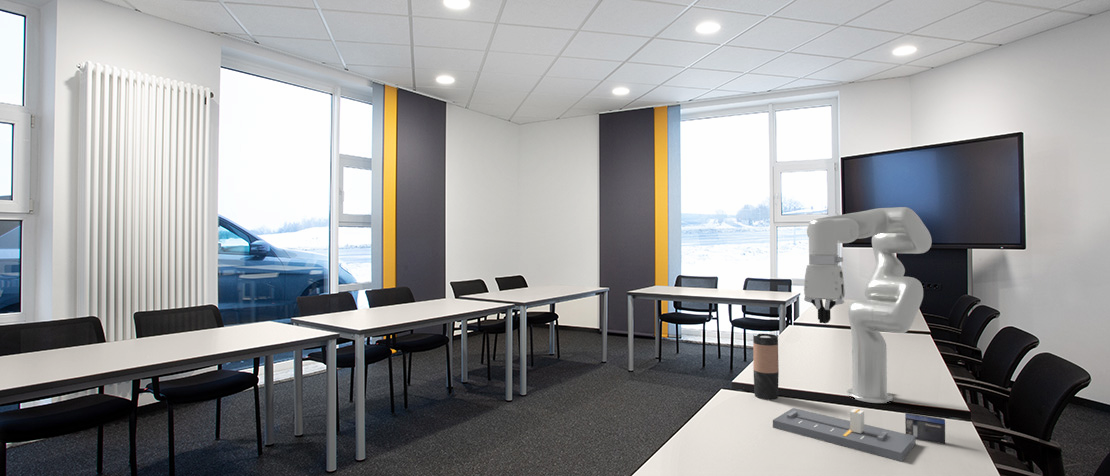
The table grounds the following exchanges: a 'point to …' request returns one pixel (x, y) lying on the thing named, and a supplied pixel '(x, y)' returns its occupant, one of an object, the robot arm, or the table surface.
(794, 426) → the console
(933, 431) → the mini dv tape
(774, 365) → the travel mug
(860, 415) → the fader
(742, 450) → the table surface
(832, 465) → the table surface
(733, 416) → the table surface
